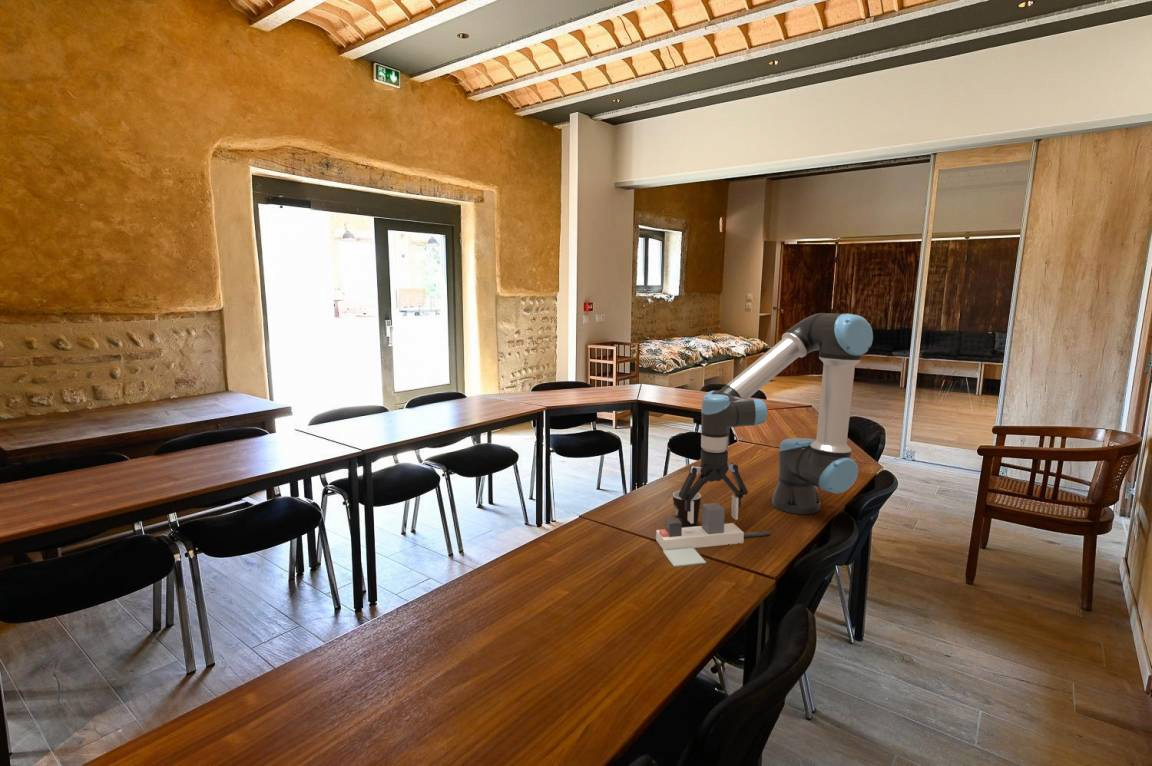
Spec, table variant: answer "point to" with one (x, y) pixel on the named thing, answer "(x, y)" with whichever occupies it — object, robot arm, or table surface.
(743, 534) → the strip
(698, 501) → the coffee mug
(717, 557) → the table surface
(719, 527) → the block
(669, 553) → the pad
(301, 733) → the table surface
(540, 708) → the table surface
